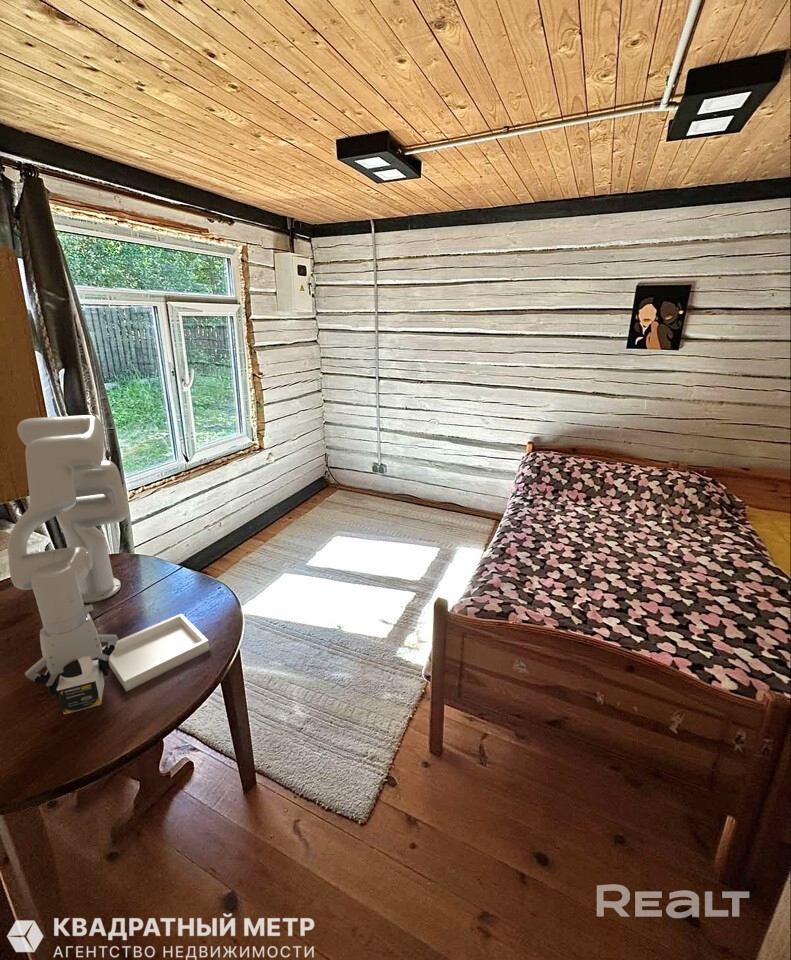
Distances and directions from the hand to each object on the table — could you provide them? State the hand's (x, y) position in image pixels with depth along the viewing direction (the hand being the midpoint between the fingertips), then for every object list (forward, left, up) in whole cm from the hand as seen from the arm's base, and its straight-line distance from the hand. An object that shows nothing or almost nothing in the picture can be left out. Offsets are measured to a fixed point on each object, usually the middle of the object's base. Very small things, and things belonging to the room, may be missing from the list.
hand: (81, 683), depth 105 cm
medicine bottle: (0, 0, -4) cm, 4 cm away
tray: (-3, +17, -4) cm, 18 cm away
